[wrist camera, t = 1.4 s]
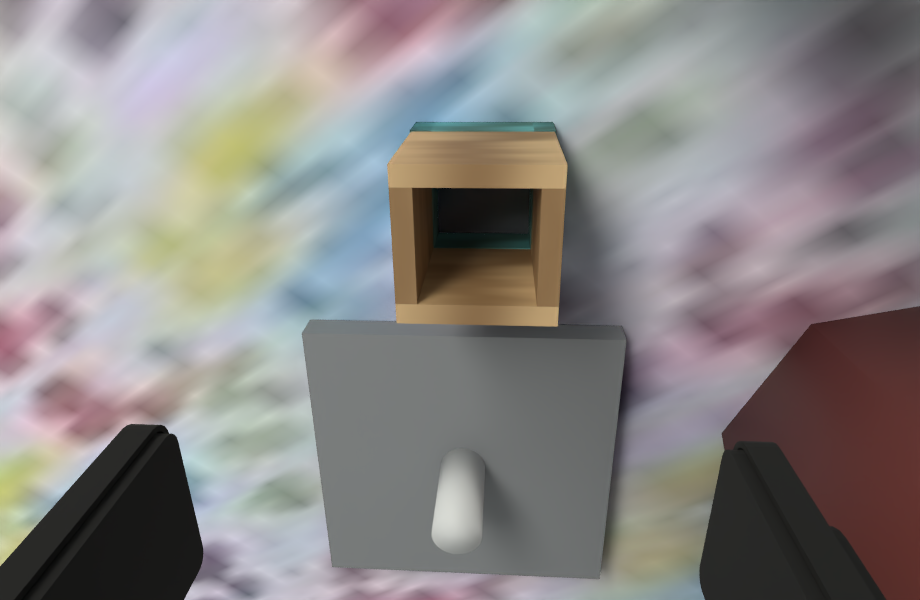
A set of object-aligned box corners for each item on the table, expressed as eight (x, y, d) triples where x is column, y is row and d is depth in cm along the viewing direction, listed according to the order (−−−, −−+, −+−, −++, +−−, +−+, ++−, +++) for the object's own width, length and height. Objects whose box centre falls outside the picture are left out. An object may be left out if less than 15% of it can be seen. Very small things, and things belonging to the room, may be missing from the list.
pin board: (621, 325, 32) (647, 398, 26) (596, 558, 39) (612, 657, 33) (310, 319, 33) (268, 387, 27) (338, 547, 40) (309, 641, 34)
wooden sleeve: (552, 122, 28) (568, 163, 21) (546, 251, 31) (558, 327, 24) (416, 122, 29) (385, 162, 21) (420, 249, 31) (395, 324, 24)
